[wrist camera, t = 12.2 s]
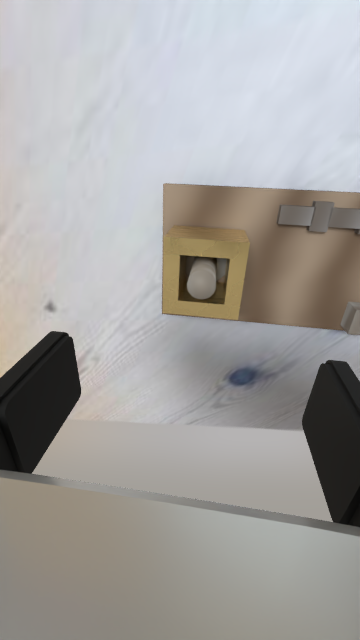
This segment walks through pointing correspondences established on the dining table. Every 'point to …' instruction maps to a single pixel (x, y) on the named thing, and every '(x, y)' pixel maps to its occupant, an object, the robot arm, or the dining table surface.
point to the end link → (205, 245)
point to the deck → (278, 251)
